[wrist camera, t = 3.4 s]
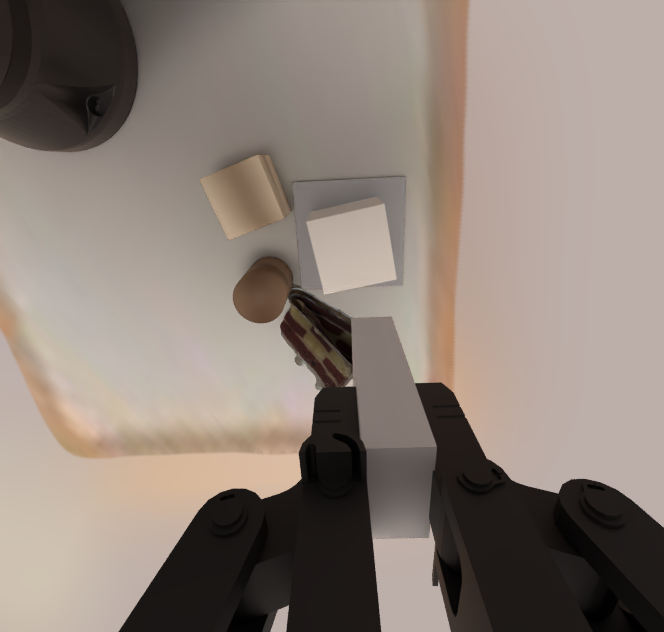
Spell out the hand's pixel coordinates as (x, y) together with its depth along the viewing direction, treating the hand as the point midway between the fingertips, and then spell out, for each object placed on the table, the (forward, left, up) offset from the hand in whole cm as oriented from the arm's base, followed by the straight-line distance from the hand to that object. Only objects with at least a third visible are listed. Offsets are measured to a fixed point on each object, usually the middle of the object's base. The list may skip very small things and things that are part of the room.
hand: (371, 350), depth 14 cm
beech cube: (-9, +4, -22) cm, 24 cm away
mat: (0, 0, -22) cm, 22 cm away
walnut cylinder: (-8, -4, -22) cm, 24 cm away
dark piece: (-3, -11, -23) cm, 25 cm away
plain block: (0, 0, -22) cm, 22 cm away
